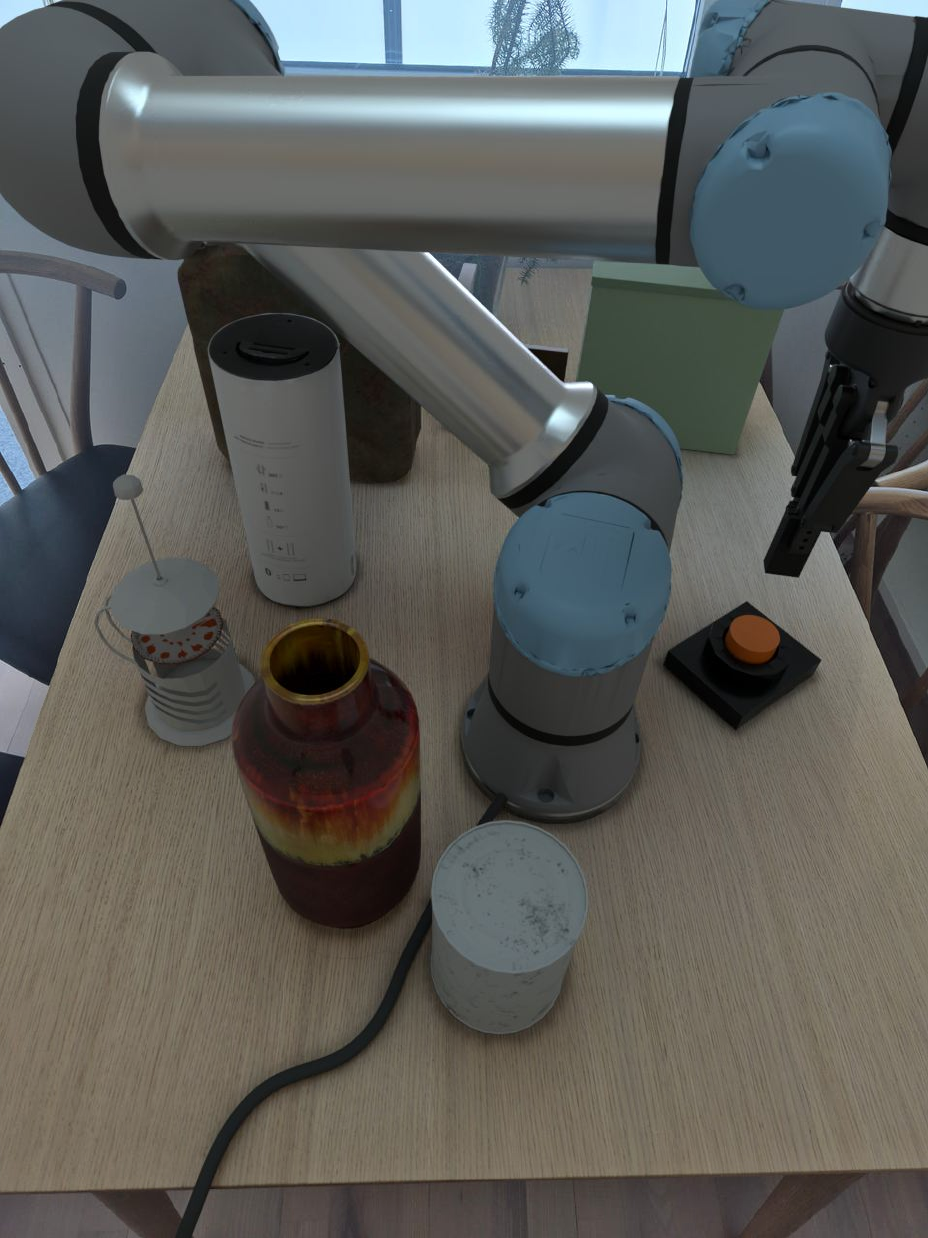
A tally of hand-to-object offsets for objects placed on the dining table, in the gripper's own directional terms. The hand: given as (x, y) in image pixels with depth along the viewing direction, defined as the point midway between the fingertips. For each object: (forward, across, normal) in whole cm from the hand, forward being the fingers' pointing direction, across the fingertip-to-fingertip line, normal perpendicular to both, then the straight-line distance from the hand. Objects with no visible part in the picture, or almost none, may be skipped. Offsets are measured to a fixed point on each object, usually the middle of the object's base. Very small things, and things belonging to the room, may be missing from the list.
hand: (780, 569), depth 68 cm
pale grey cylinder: (+14, -30, +19) cm, 38 cm away
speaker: (+14, +5, +43) cm, 45 cm away
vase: (+14, -26, +31) cm, 42 cm away
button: (+10, 0, 0) cm, 10 cm away
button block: (+13, 0, 0) cm, 13 cm away
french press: (+14, -12, +48) cm, 52 cm away
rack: (+14, +38, +26) cm, 48 cm away
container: (+14, +24, +46) cm, 54 cm away
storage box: (+13, +38, +8) cm, 41 cm away
